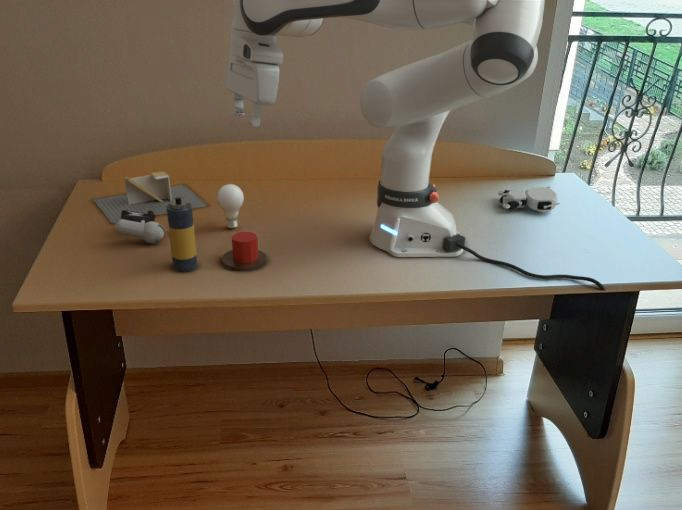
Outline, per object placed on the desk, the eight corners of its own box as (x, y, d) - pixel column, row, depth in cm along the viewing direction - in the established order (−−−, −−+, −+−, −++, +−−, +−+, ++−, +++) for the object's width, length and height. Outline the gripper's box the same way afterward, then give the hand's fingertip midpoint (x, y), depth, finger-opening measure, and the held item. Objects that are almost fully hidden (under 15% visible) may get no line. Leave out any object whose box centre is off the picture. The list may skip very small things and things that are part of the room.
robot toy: (502, 218, 181) (560, 217, 180) (503, 202, 178) (562, 200, 177) (495, 201, 191) (550, 199, 190) (497, 185, 188) (552, 183, 187)
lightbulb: (214, 229, 168) (210, 186, 162) (229, 221, 173) (226, 178, 166) (235, 235, 165) (233, 191, 159) (250, 226, 170) (248, 183, 164)
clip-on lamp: (195, 238, 171) (120, 223, 167) (199, 213, 168) (123, 198, 164) (191, 254, 160) (111, 239, 157) (195, 229, 157) (114, 212, 154)
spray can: (200, 262, 153) (194, 194, 144) (193, 273, 149) (186, 203, 140) (177, 260, 154) (169, 192, 145) (169, 271, 149) (161, 201, 141)
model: (172, 201, 182) (168, 173, 178) (132, 208, 178) (128, 179, 173) (167, 197, 185) (164, 169, 180) (128, 204, 180) (124, 175, 176)
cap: (260, 253, 156) (259, 232, 153) (255, 264, 151) (254, 242, 149) (236, 251, 156) (234, 230, 154) (230, 262, 152) (229, 241, 149)
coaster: (270, 252, 158) (270, 249, 158) (261, 272, 150) (261, 269, 149) (228, 249, 159) (227, 246, 158) (216, 269, 151) (216, 265, 150)
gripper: (220, 40, 142) (215, 110, 148) (255, 52, 126) (248, 129, 132) (249, 44, 145) (243, 112, 151) (287, 56, 129) (279, 132, 135)
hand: (246, 121), depth 141 cm, fingers open, 8 cm apart
